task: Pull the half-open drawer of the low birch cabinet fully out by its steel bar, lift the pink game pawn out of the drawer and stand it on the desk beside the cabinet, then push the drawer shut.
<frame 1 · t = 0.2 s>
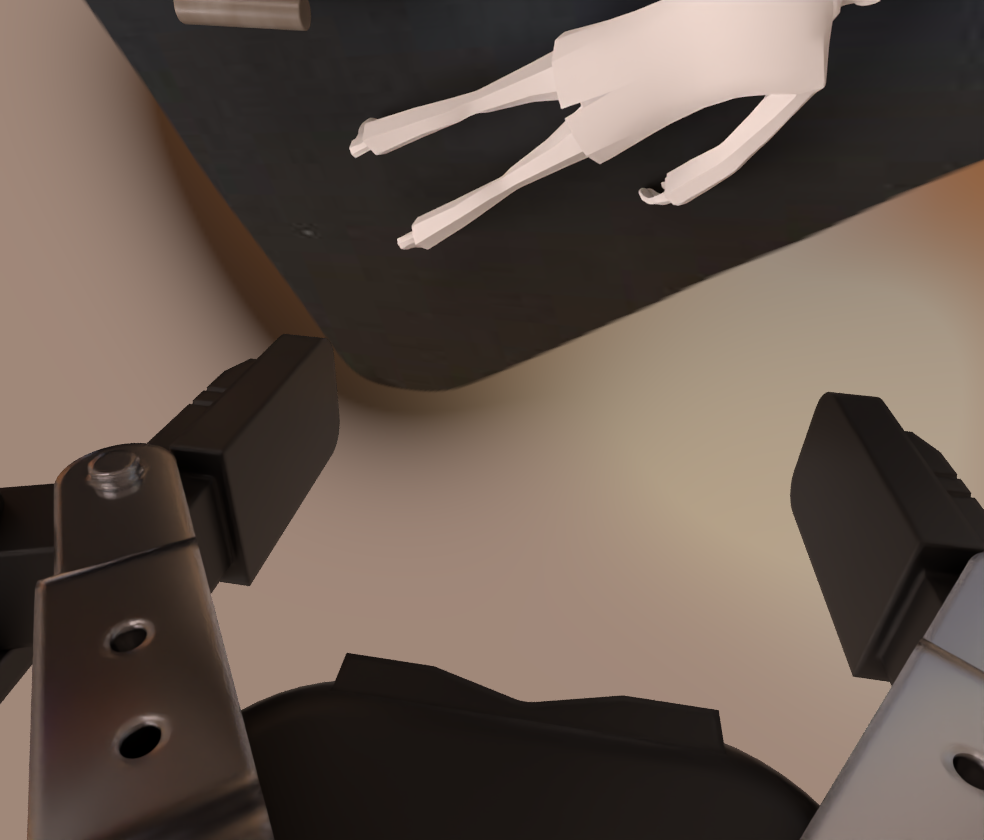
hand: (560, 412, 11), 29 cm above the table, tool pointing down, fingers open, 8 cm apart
male figurine: (601, 85, 35), on the table
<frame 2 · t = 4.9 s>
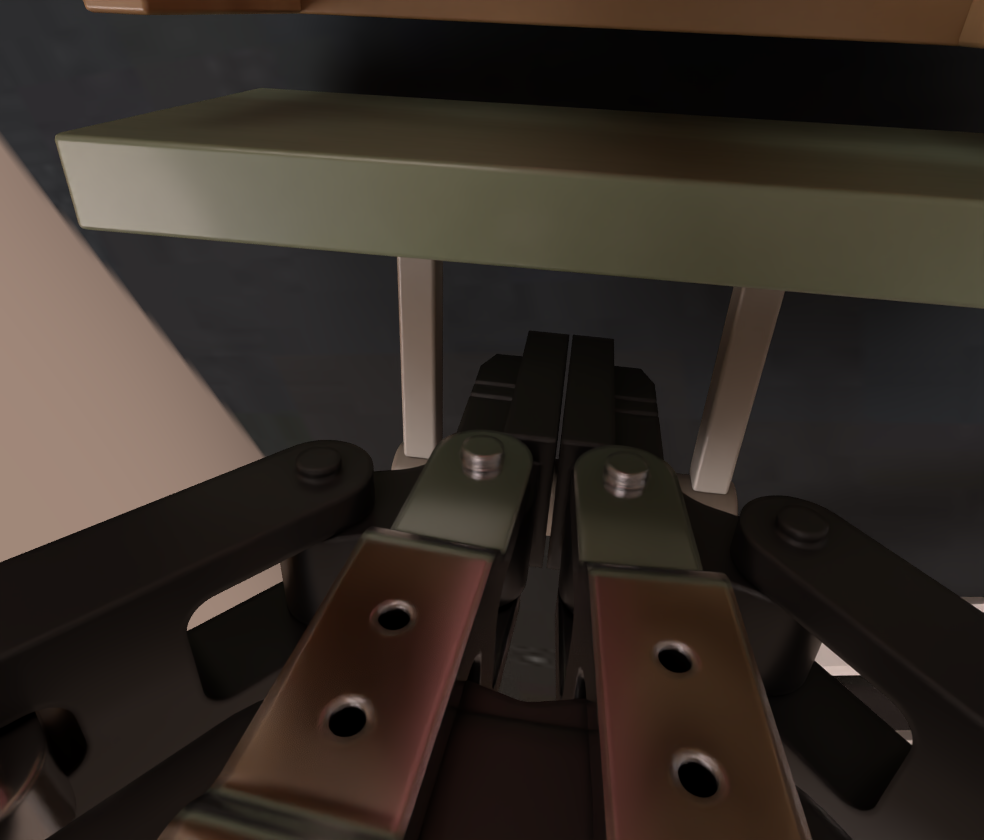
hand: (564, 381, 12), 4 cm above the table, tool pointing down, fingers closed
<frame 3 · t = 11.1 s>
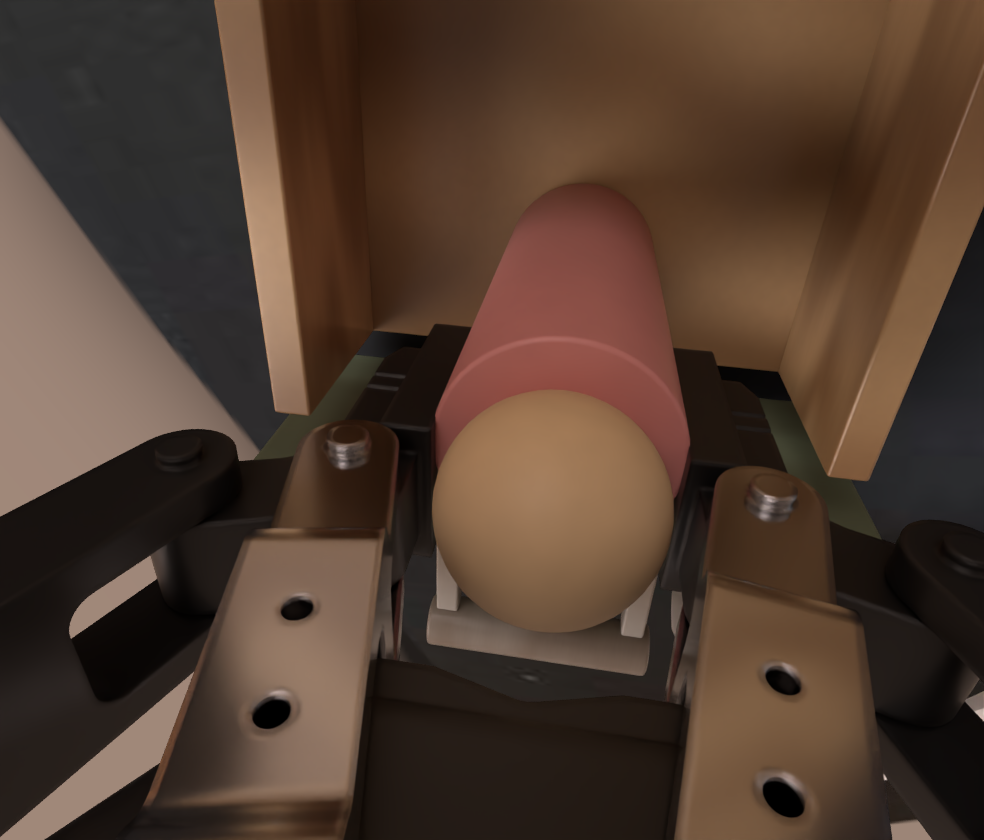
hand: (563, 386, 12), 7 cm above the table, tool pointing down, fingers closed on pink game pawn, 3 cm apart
drawer: (574, 304, 15), point 4 cm above the table, slide at 9.3 cm, touching pink game pawn
pink game pawn: (580, 256, 16), point 2 cm above the table, touching drawer, gripper
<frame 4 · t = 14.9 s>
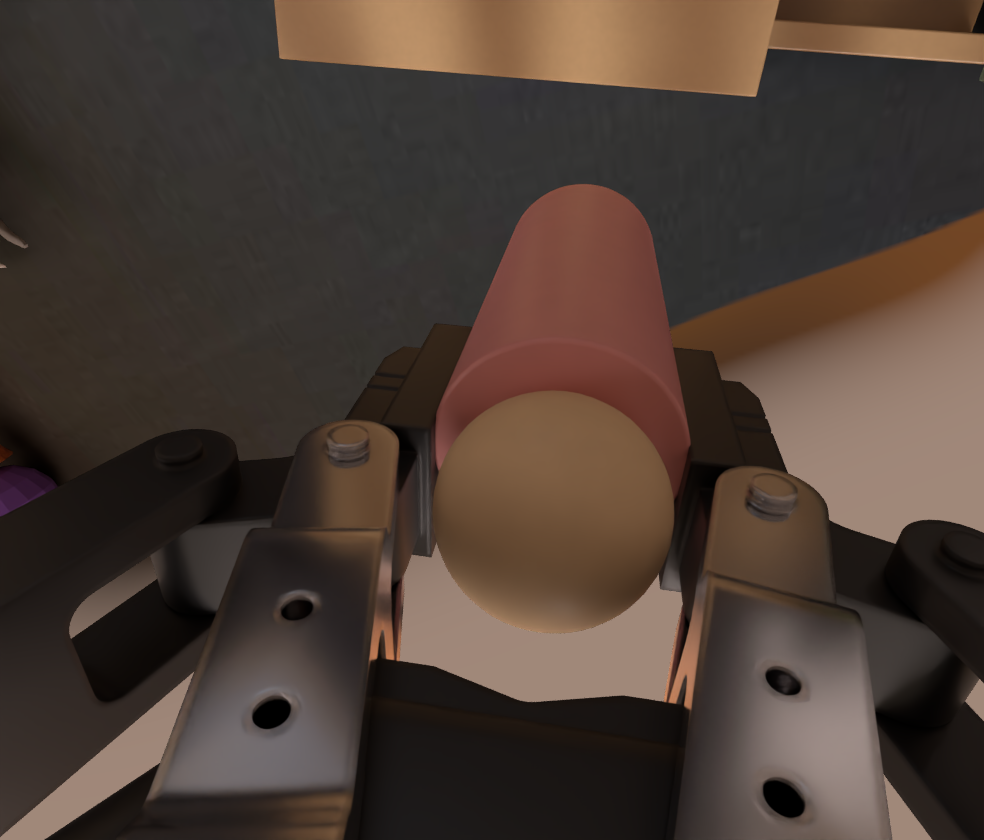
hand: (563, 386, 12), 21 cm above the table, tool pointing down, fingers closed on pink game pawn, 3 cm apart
pink game pawn: (580, 257, 16), point 16 cm above the table, touching gripper
when the fingers open (5 cm above the table, at t = 19.0 s): pink game pawn stays where it is, on the table.
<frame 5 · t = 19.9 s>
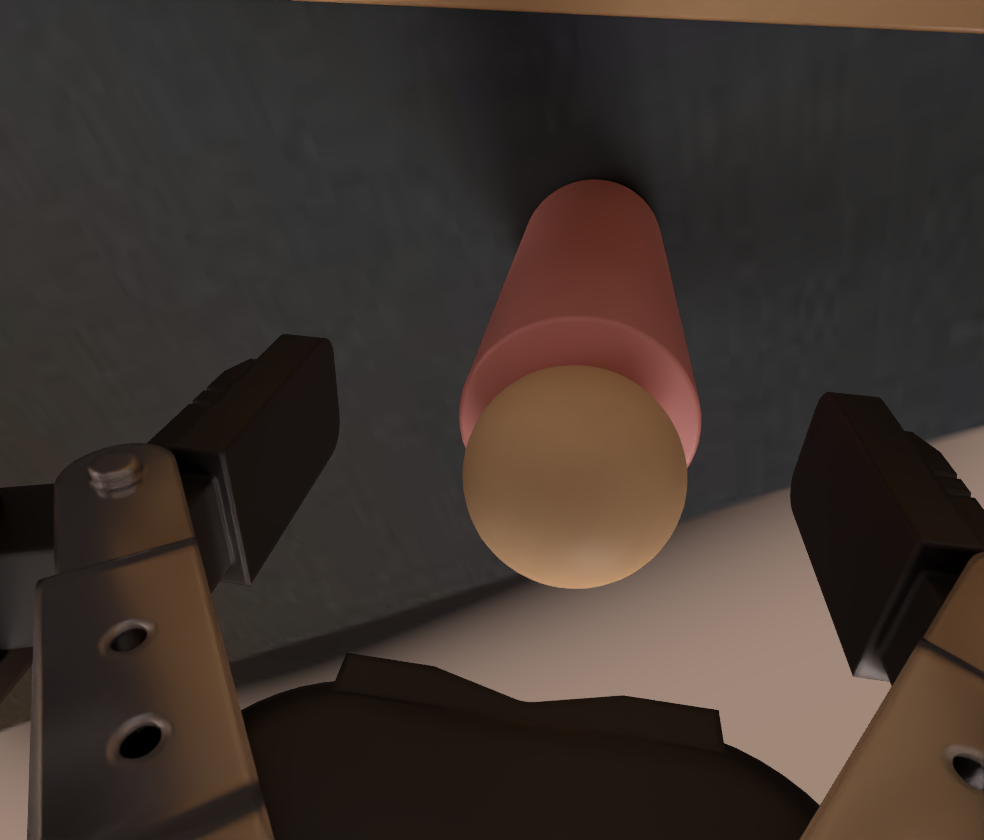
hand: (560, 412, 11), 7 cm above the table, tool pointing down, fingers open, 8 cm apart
pink game pawn: (591, 250, 17), on the table
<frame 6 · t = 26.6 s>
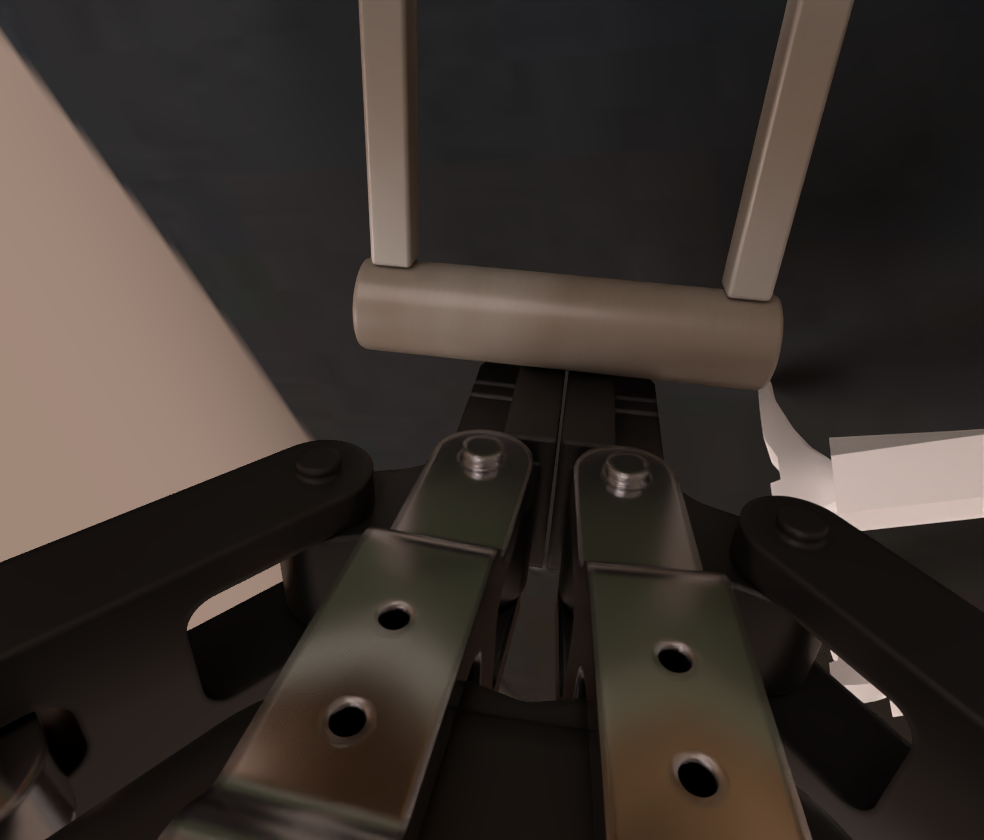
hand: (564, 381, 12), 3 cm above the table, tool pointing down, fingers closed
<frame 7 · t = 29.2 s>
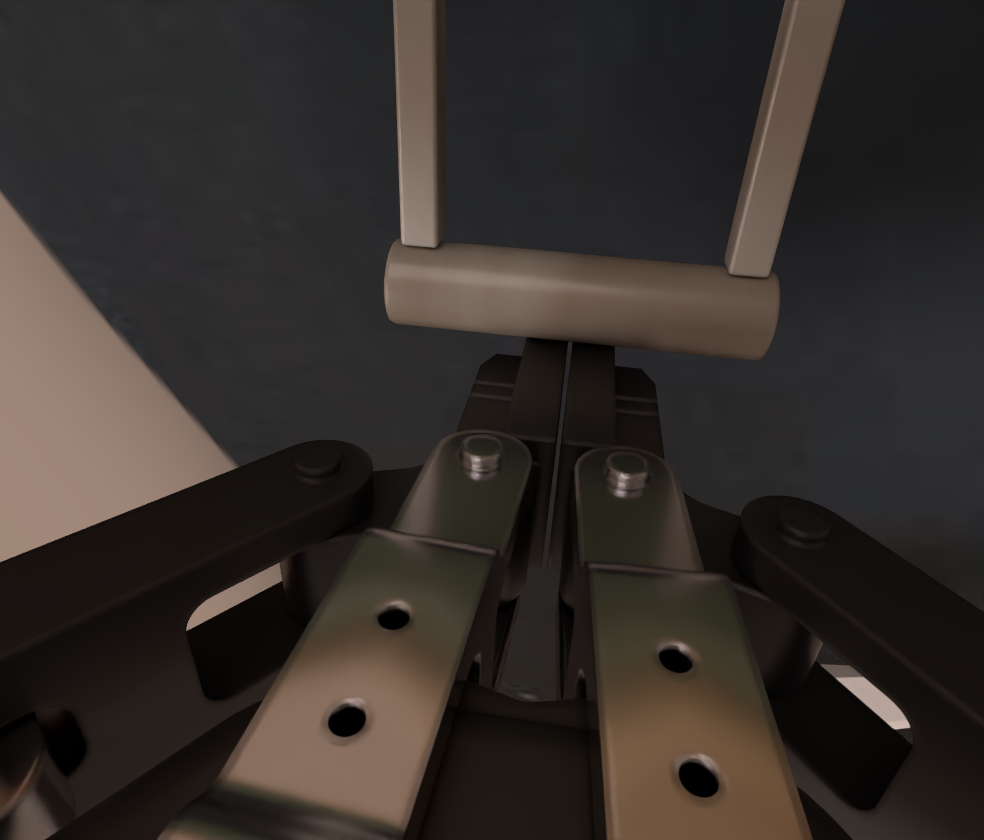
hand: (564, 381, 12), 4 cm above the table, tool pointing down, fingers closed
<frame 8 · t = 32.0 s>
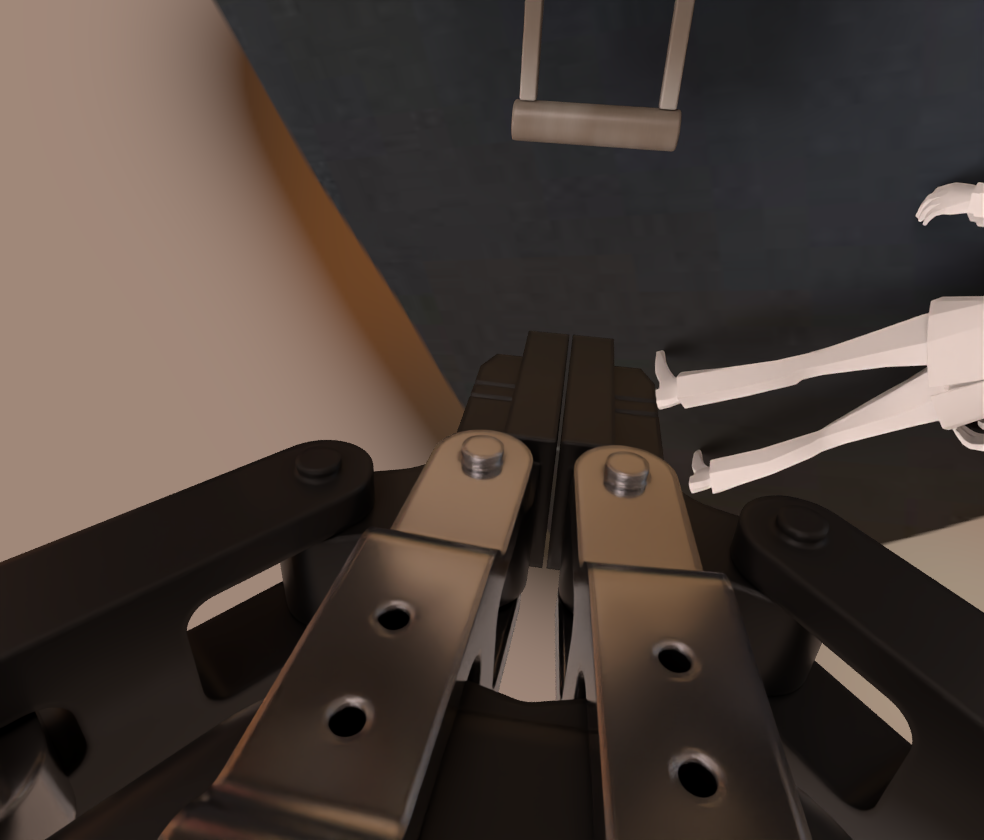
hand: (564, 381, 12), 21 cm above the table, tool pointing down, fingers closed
male figurine: (927, 326, 32), on the table
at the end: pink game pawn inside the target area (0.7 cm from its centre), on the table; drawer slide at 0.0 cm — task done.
